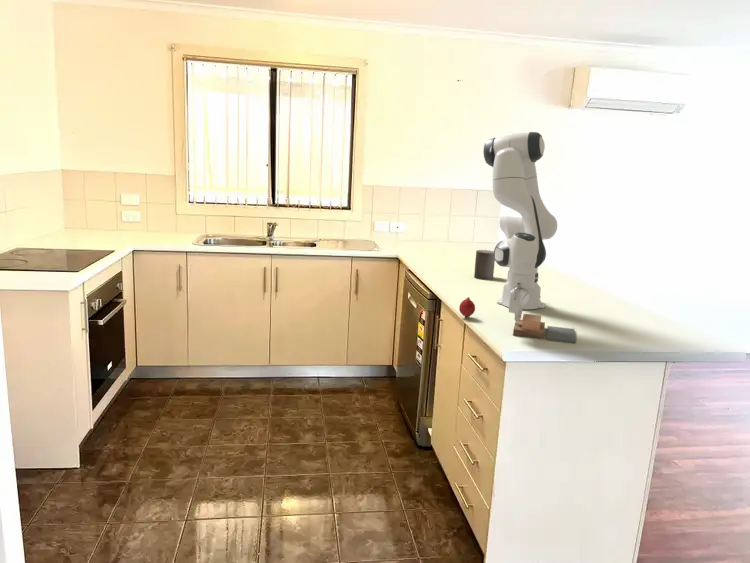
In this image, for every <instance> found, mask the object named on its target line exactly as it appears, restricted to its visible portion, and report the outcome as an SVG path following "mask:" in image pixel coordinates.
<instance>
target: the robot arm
mask: <svg viewBox="0 0 750 563" xmlns="http://www.w3.org/2000/svg"><path fill="white" fill-rule="evenodd" d="M545 147H546V146H545V140H544V138H543V135H542V134H541V133H539V132H536V131H530V132H519V133H512V134H507V135H503V136H500V137H491V138H489V139H488V140H486V142H485V143H484V146H483V152H482V154H483V158H484V161H485V163H486V164H487V165H489V167H492V192H493V196H494V198H495V199H496V200H497V201H498V202H499V203H500V204H501V205H503V206H504V207H507V208H509V209H508V210H506V211H503V213H502V214H501V216H500V219H499V227H500V229H501V231H502V232H503V233H504V235H505V237H506V239H505V240H501V241H499V242H498V243H497V244H496V245H495V247H494V250H493V251H494V259H495V262H496V264H497V265H498V266H499V267H503V268H509V270H508V272H507V281H506V282H504V283H503V284H502V295H501V297H500V298H499V299H498V300H497V301H496V304H499V305H502V306H505V307H507V308H508V313H510V314H511V313H512V314H514V321H515V322H516V321H520V320H522V316H523V315H522V314H523V310H536V309H544V308H545V305H544V303H543V302H542V300H541V290H542V289H541V287H540V285H539V272H538V270H539V267H540V266H541V265H542V264H543V263H544V261H545V260H546V257H547V251H546V247H545V243H544V241H543V240H549V239H552V238H553V237H554V236H555V234H556V232H557V230H558V221H557V219H556V216H554V215H553V214H551V212H550V211H549V209H547V207H546V205H545V204H544V201H543V200H542V198H541V195H540V190H539V184H538V176H537V174H538V173H537V168H536V163H537V161H539V160H541V159H542V158H543V156H544V152H545V149H546V148H545Z"/></svg>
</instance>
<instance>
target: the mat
mask: <svg viewBox="0 0 750 563" xmlns="http://www.w3.org/2000/svg"><path fill="white" fill-rule="evenodd" d="M546 328H547V329H546V341H552V342H561V343H568V344H576V343H577V340H576V334H575V333H576V332H575V328H572V327H571V328H569V327H561V326H552V325H551V326H550V325H547V327H546Z"/></svg>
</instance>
